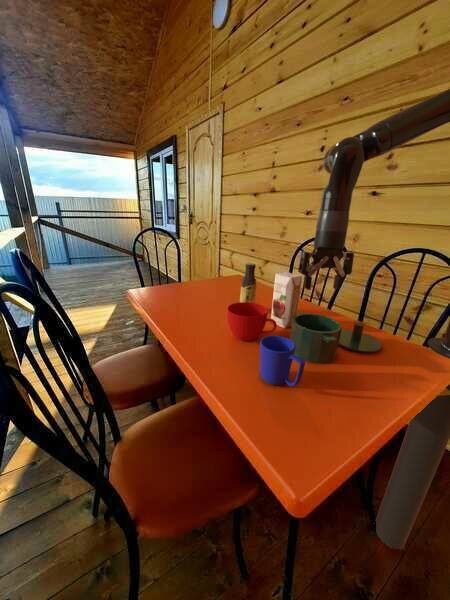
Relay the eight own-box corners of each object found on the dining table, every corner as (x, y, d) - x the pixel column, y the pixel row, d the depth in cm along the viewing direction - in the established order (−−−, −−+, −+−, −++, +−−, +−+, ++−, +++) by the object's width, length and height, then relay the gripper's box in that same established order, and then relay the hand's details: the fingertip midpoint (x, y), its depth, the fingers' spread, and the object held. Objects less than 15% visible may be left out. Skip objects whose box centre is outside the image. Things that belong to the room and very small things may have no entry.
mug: (285, 403, 55) (291, 364, 52) (250, 375, 65) (253, 340, 62) (310, 390, 60) (316, 353, 57) (274, 365, 69) (278, 332, 66)
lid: (361, 331, 91) (365, 314, 89) (391, 353, 77) (397, 333, 75) (323, 333, 89) (326, 315, 87) (347, 355, 76) (351, 335, 73)
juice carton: (281, 317, 101) (286, 270, 95) (298, 325, 95) (305, 275, 88) (267, 321, 97) (272, 273, 91) (285, 330, 90) (291, 278, 84)
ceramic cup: (263, 355, 74) (266, 324, 71) (218, 337, 83) (219, 309, 80) (282, 339, 84) (286, 311, 80) (240, 325, 93) (241, 299, 90)
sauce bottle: (245, 314, 103) (248, 266, 97) (236, 309, 108) (238, 263, 101) (257, 311, 107) (261, 264, 100) (247, 306, 112) (250, 261, 105)
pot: (318, 335, 87) (322, 309, 84) (350, 367, 69) (357, 336, 66) (279, 336, 85) (282, 310, 82) (303, 370, 68) (308, 338, 65)
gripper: (311, 229, 61) (303, 293, 67) (366, 230, 63) (353, 292, 68) (299, 227, 68) (292, 285, 74) (348, 228, 70) (338, 285, 75)
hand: (321, 289), depth 71 cm, fingers open, 8 cm apart
